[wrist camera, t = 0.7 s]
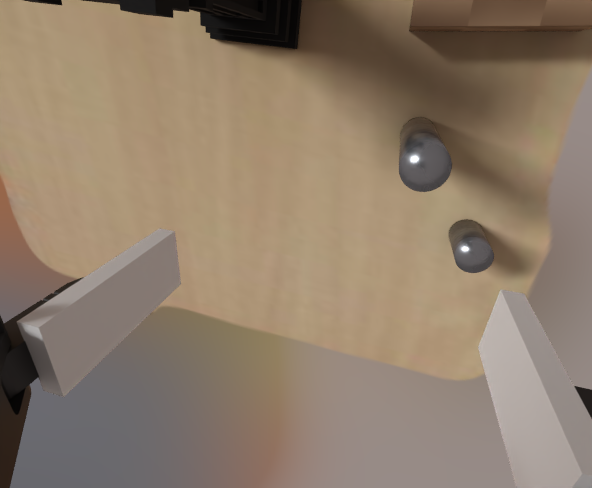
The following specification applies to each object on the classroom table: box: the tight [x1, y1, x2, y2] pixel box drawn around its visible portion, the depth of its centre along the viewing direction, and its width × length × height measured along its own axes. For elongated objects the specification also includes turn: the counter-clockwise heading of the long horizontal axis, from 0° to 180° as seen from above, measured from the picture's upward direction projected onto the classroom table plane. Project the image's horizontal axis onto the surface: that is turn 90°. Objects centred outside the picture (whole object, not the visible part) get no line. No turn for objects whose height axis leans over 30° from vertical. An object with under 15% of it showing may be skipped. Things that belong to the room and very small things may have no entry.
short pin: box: [449, 219, 494, 273], centre depth 32 cm, size 3×3×5 cm
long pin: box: [399, 117, 452, 192], centre depth 26 cm, size 3×3×12 cm
